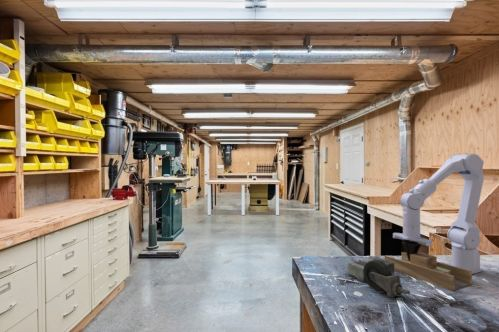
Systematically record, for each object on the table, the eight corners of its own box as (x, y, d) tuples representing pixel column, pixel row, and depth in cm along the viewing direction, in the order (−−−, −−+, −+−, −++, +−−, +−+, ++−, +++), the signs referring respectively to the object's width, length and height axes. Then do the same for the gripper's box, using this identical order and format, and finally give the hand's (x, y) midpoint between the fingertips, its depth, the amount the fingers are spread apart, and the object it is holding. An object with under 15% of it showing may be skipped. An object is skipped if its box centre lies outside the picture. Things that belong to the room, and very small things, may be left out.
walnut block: (420, 263, 111) (420, 252, 111) (436, 267, 106) (436, 256, 106) (410, 265, 108) (410, 254, 108) (426, 270, 103) (426, 259, 103)
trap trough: (403, 263, 120) (403, 252, 120) (471, 284, 98) (471, 271, 98) (384, 267, 115) (384, 255, 115) (452, 290, 93) (452, 276, 93)
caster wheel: (361, 289, 97) (403, 302, 84) (358, 259, 98) (399, 267, 85) (373, 285, 100) (415, 298, 87) (370, 256, 101) (412, 264, 88)
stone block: (345, 275, 108) (345, 260, 108) (375, 269, 114) (375, 256, 114) (363, 283, 100) (363, 268, 100) (395, 277, 105) (394, 262, 106)
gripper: (387, 222, 116) (387, 257, 116) (423, 229, 103) (423, 268, 103) (399, 221, 119) (399, 254, 119) (435, 227, 106) (436, 265, 106)
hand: (411, 260), depth 111 cm, fingers closed
